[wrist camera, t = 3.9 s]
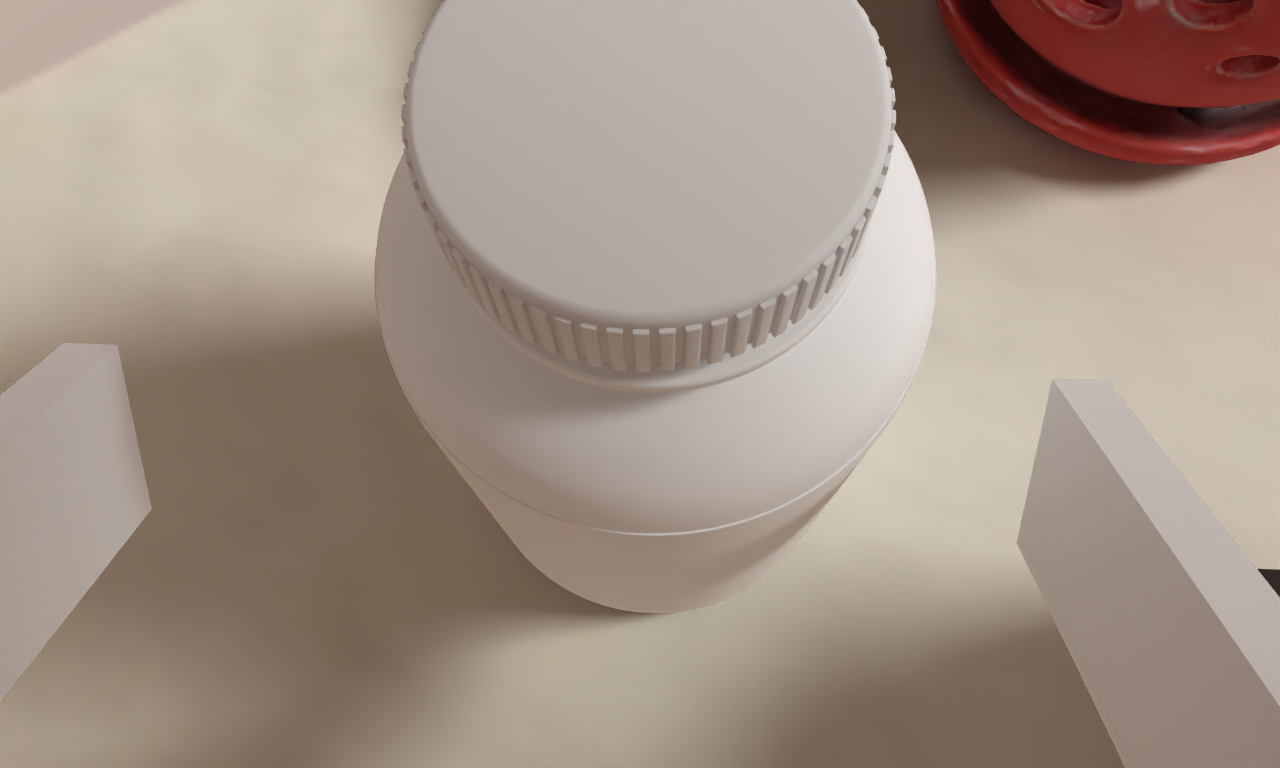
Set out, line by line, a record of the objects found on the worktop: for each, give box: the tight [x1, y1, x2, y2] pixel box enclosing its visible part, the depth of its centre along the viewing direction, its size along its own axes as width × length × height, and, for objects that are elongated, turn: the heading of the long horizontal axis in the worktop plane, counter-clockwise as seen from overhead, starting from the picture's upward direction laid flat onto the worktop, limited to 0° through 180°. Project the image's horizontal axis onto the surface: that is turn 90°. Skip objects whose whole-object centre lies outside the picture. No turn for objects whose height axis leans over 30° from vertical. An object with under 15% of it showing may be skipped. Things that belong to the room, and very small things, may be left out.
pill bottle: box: [375, 0, 936, 613], centre depth 19 cm, size 8×8×15 cm
